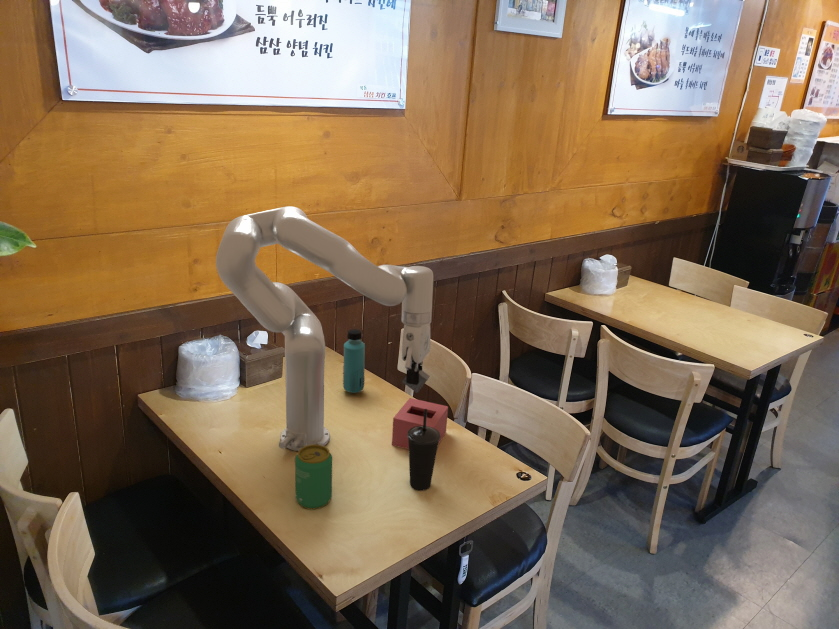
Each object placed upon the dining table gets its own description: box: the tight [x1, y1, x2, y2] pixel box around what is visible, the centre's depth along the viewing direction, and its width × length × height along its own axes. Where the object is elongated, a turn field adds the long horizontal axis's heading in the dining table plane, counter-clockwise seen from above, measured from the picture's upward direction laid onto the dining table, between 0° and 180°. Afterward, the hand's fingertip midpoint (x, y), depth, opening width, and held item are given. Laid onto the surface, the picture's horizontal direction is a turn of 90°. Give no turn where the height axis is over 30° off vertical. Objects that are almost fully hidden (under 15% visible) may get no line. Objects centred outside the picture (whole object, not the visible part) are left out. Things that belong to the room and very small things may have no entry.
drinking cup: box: [407, 409, 441, 492], centre depth 143 cm, size 8×8×20 cm
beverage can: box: [294, 445, 333, 510], centre depth 137 cm, size 8×8×12 cm
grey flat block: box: [401, 368, 430, 394], centre depth 162 cm, size 2×5×5 cm
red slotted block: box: [391, 397, 449, 450], centre depth 164 cm, size 12×11×8 cm
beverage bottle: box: [342, 328, 366, 394], centre depth 184 cm, size 6×7×20 cm
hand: (414, 380), depth 162 cm, fingers closed on grey flat block, 2 cm apart
